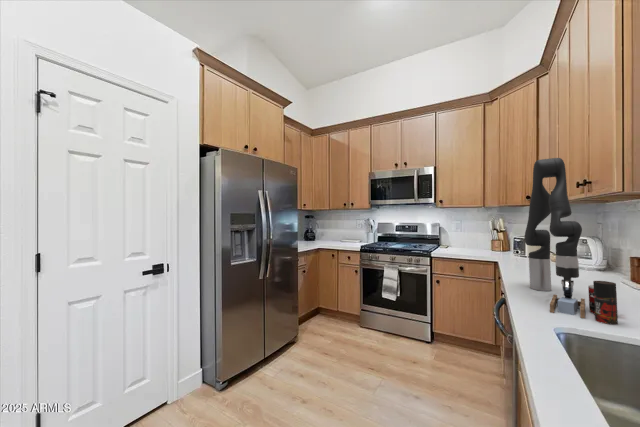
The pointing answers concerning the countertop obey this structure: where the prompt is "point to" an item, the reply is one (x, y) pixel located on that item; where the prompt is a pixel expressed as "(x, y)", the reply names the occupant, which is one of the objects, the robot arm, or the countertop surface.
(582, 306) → the channel
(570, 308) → the block
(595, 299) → the deodorant
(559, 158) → the robot arm
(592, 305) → the canned food
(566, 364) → the countertop surface
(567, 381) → the countertop surface
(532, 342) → the countertop surface
